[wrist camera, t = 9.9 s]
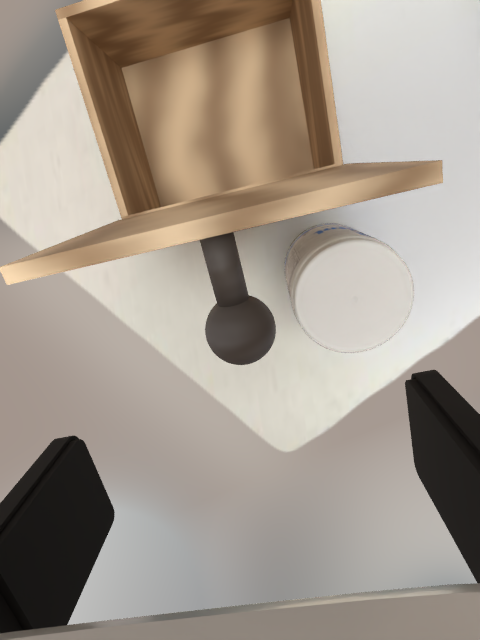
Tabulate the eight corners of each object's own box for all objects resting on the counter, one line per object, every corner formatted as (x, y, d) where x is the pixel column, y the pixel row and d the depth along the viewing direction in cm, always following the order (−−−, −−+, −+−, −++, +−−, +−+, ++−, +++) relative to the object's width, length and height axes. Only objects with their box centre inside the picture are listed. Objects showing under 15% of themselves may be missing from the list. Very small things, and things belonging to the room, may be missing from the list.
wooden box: (293, 12, 35) (310, -74, 24) (319, 177, 40) (343, 170, 29) (116, 65, 38) (54, 9, 26) (160, 216, 42) (123, 224, 31)
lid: (442, 160, 14) (448, 344, 17) (347, 163, 28) (359, 263, 31) (-2, 267, 16) (70, 414, 19) (117, 220, 30) (148, 309, 33)
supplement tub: (370, 220, 41) (426, 234, 27) (364, 303, 44) (413, 354, 30) (281, 224, 42) (293, 239, 28) (282, 306, 45) (293, 356, 31)
